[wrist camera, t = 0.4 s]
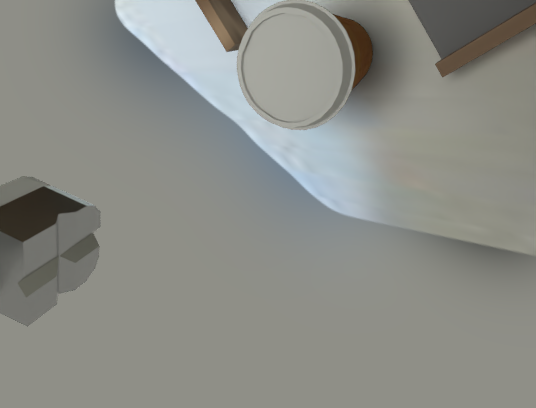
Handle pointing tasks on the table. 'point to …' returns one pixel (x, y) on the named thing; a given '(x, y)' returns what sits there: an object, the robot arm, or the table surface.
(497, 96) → the table surface
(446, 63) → the walnut corridor
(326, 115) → the disposable coffee cup
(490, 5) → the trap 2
